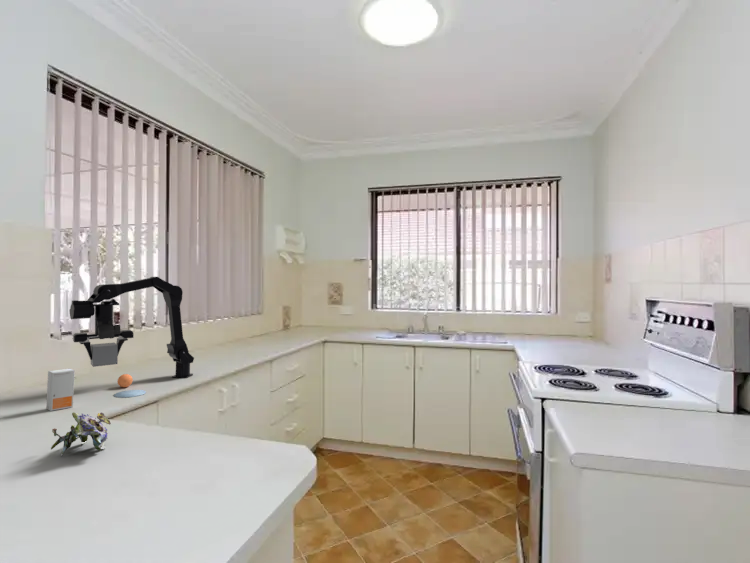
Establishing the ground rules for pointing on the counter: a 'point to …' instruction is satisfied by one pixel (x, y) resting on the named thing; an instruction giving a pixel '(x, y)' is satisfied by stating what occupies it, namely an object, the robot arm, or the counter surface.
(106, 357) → the matte grey cuboid
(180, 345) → the robot arm
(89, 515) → the counter surface
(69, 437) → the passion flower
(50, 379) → the skincare box
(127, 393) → the disc
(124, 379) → the ball
